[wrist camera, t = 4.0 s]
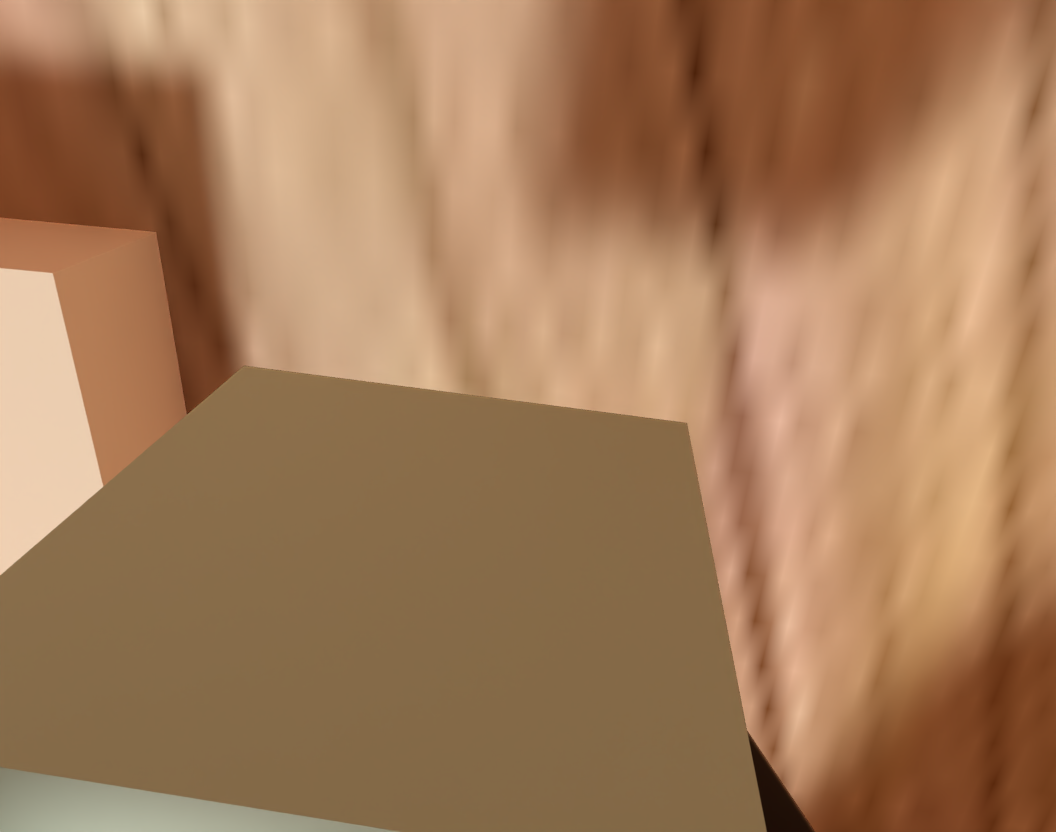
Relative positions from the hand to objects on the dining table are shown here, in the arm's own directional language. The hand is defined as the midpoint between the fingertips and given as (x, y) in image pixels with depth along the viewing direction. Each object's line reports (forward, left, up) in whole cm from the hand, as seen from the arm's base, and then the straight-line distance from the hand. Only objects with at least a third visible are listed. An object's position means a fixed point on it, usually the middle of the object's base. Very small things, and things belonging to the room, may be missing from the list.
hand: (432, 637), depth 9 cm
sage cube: (0, 0, -1) cm, 1 cm away
